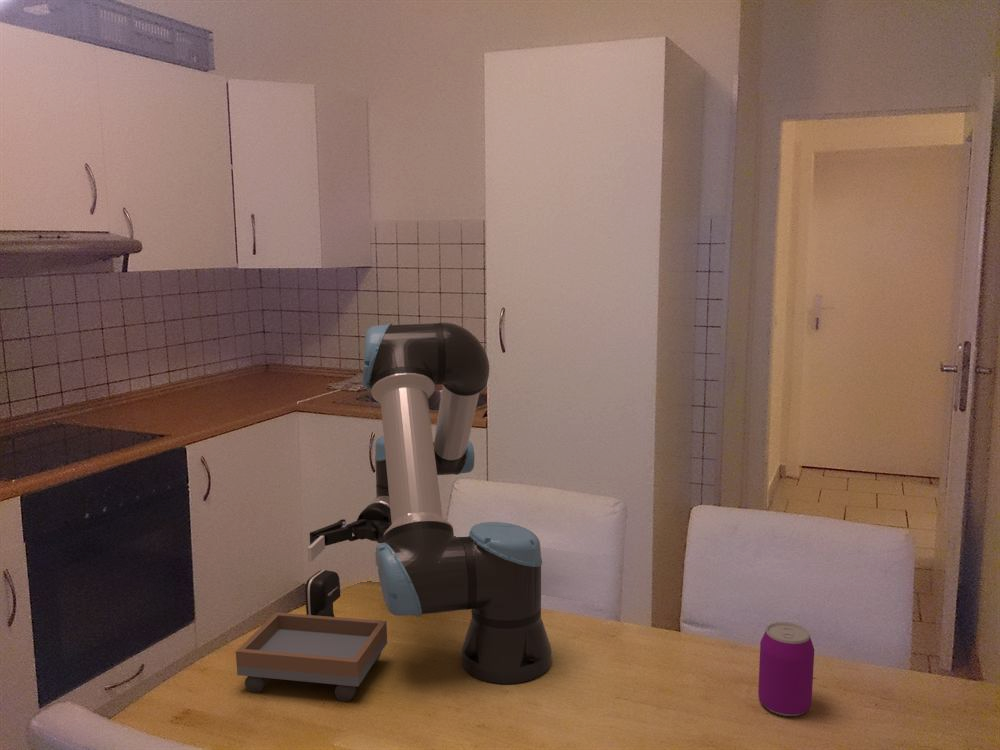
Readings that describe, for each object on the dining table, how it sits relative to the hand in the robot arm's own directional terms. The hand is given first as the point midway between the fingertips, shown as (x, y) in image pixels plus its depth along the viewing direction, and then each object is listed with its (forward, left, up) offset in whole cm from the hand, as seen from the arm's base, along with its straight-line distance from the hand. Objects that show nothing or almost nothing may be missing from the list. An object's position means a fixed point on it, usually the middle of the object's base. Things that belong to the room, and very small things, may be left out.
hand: (343, 557), depth 159 cm
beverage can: (-78, +20, -11) cm, 82 cm away
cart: (-4, +24, -11) cm, 27 cm away
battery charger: (0, +10, -11) cm, 15 cm away
